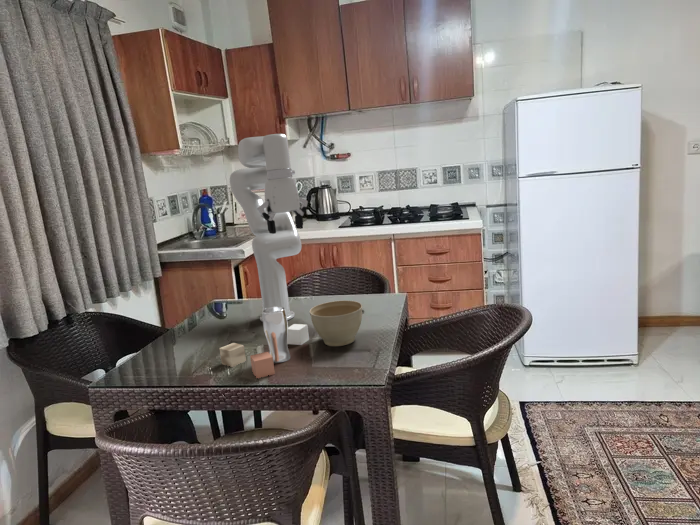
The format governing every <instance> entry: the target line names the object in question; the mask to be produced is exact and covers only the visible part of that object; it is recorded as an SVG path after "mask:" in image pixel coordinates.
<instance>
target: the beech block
mask: <svg viewBox="0 0 700 525" xmlns="http://www.w3.org/2000/svg"><path fill="white" fill-rule="evenodd" d="M245 351H246V350H245V345H243V344H241V343H236V342H232V343H230V344H227V345H224V346H222V347H219V353H220V354H219V356H220V360H221V362H220V363H221V365H224V366H226V365H227V366H226V367H229V366H230V367H229V368H234V367H237V366H238V364H239V365H241V364H243V363H245V361H246V362H247V358H246V352H245ZM240 363H241V364H240ZM236 365H237V366H236Z"/></svg>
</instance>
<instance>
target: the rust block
mask: <svg viewBox="0 0 700 525" xmlns="http://www.w3.org/2000/svg"><path fill="white" fill-rule="evenodd" d="M249 356H250V364H251V371H252V372H253V373H252V372H251V373H252V374H253V375H254V377H255V376H256V377H255V379H257V378H258V379H261V377H262V378H266V377H268V375H269V376H272V375H275V374H276V371H275V365H274V364H275V363H273V357H272V356H271V355H270V351H264V352H260V353H256V354H252V355H249Z"/></svg>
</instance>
